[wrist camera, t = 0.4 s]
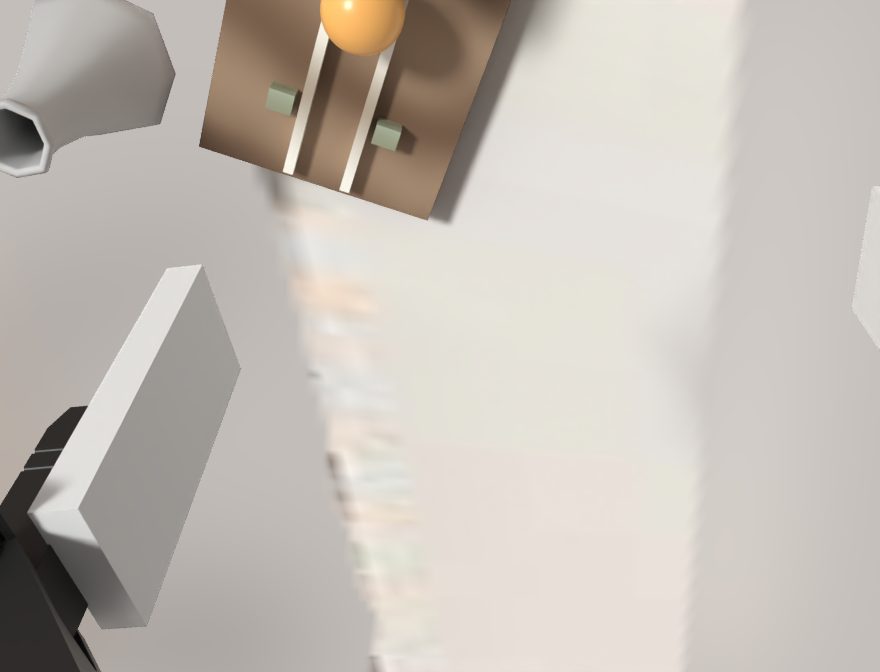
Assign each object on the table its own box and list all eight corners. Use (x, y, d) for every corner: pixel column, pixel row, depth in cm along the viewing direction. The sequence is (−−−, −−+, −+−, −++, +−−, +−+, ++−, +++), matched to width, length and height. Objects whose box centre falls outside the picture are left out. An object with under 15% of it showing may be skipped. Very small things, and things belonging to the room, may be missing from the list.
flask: (173, -6, 39) (93, 61, 31) (180, 141, 43) (112, 234, 35) (15, -29, 38) (-109, 33, 30) (38, 121, 42) (-65, 210, 34)
